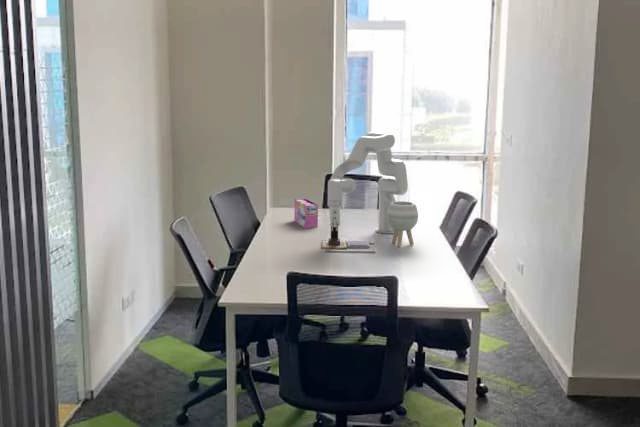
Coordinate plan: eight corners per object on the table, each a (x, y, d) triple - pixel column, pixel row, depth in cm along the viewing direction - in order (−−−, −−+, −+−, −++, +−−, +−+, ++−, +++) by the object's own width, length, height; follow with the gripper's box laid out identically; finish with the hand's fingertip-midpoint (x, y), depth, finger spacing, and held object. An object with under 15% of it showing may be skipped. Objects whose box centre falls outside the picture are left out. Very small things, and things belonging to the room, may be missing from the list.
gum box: (293, 220, 431) (293, 198, 428) (305, 219, 433) (305, 198, 431) (305, 228, 409) (305, 205, 406) (318, 227, 411) (318, 204, 409)
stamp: (339, 242, 369) (340, 219, 367) (340, 245, 363) (340, 221, 361) (328, 242, 369) (328, 219, 367) (328, 245, 363) (328, 221, 361)
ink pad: (368, 243, 372) (368, 240, 372) (369, 248, 361) (369, 245, 361) (347, 243, 372) (347, 240, 372) (348, 248, 361) (348, 245, 361)
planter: (397, 249, 359) (398, 206, 355) (380, 243, 373) (381, 201, 369) (423, 246, 366) (424, 204, 362) (405, 240, 380) (406, 199, 376)
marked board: (346, 242, 374) (346, 240, 374) (347, 249, 359) (347, 247, 359) (321, 241, 374) (322, 240, 374) (321, 248, 359) (321, 247, 359)
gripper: (342, 205, 354) (341, 241, 358) (341, 200, 371) (341, 234, 374) (327, 205, 354) (327, 241, 358) (327, 200, 371) (327, 234, 374)
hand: (334, 237), depth 366 cm, fingers closed on stamp, 4 cm apart
